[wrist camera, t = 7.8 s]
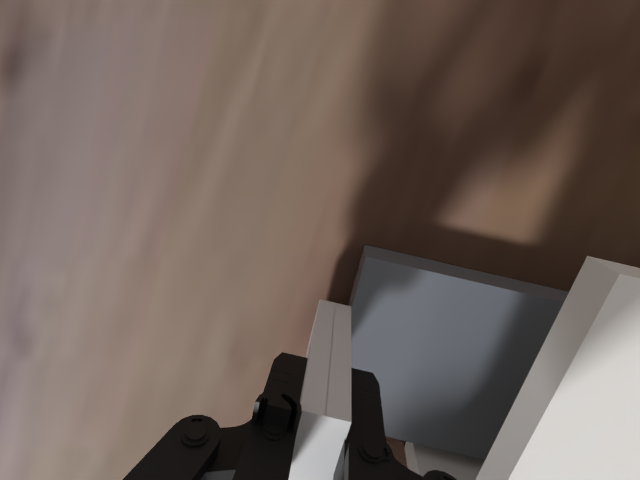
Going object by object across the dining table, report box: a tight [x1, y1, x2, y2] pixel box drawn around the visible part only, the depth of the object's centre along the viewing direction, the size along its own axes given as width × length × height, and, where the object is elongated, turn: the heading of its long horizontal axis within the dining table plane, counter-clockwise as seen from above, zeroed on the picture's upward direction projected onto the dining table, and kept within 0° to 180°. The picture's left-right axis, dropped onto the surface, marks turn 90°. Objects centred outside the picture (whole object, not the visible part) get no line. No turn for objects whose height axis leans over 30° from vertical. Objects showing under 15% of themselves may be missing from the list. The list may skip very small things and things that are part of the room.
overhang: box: [404, 256, 640, 480], centre depth 14 cm, size 12×14×7 cm
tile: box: [348, 245, 569, 460], centre depth 17 cm, size 14×9×2 cm, turn 78°
